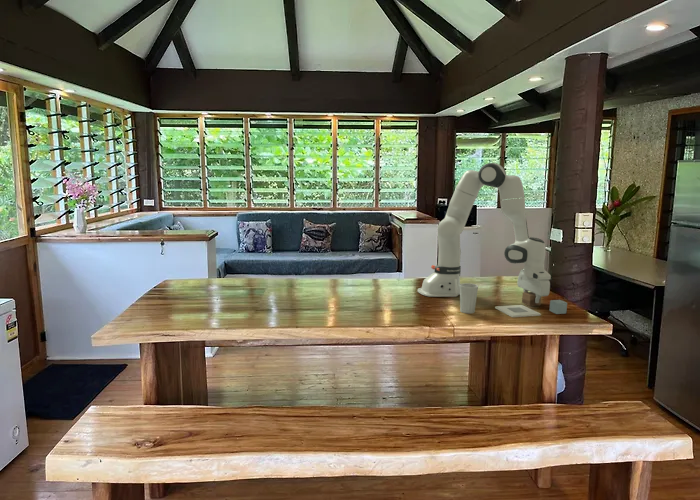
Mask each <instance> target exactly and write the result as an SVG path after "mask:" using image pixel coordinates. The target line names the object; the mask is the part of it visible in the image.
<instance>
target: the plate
mask: <svg viewBox="0 0 700 500" xmlns="http://www.w3.org/2000/svg"><path fill="white" fill-rule="evenodd" d="M494 309H496V310H498V311H499V312H501V313H503V314H505V315H507V316H509V317H511V318H523V317H525V318H526V317H536V316H542V314H541V313H540V312H538V311H536V310H534V309H532V308H530V307H529V306H528V307H527V306H525V305H523V304H515V305H498V306H494Z"/></svg>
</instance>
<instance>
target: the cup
mask: <svg viewBox="0 0 700 500" xmlns="http://www.w3.org/2000/svg"><path fill="white" fill-rule="evenodd" d="M478 290H479V285H478V284H475V283H467V282H465V283H460V294H459V304H460V305H459V307H460V309H459V311H460V312H461V313H464V314H474V313H475V311H476V305H477V295H478Z"/></svg>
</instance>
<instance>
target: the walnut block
mask: <svg viewBox="0 0 700 500" xmlns="http://www.w3.org/2000/svg"><path fill="white" fill-rule="evenodd" d="M535 298H536V294H535V293H533V292H530V291H528V292H524V291H522V298H521V299H522V300H521V303H522V304H524V305H526V306H528V307H535V306H536V307H537V306H541V305H542V304H541V303H542V297H541V298H540V299H539V303H535V302H534V299H535Z"/></svg>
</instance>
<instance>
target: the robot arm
mask: <svg viewBox="0 0 700 500" xmlns="http://www.w3.org/2000/svg"><path fill="white" fill-rule="evenodd" d="M478 170H479V171H477V170H473V169H467V170H465V171H464V172H463V174H462V176H461V177H460V178H459V180H458V182H457V184H456V186H455V189H454V191H453V194H452V197H451V199H450V200H449V204H448V208H447V210H446V214H445V216H444V218H443V219H442V220H441V221H439V222H438V226H437V245H438V259H437V264H436V265H434V264H432V265H431V267H430V268H431V269H432V270H434V271H433V272H432V273H431V274H429V275H428V276H427V277H425V278H424V279H423V280H422V284H421V285H422V286H421V287H419V288H417V293H419V294H421V295H423V296H425V297H430V298H431V297H432V298H433V297H436V298H437V297H443V298H444V297H454V298H455V297H458V296H460V284H461V278H460V276H461V269H462V267H461V253H462V252H461V250H462V249H461V234H462V233H463V232H464V228H465V226H466V224H467V221H468V218H469V216H470V214H471V211H472V208H473V207H474V204H475V201H476V199H477V197H478V194H479V192H480V190H481V189H482V188H483V187H484V186H486V187H490V188H491V187H492V188H496V189H498V191H499V201H500V208H501V213H502V214H503V215H504V216H505V217H506V218H507V219H509V221H511V223H512V226H513V232H514V238H515V240H514V243H511V244H509V245H508V246H507V247H506V248H505V249H504V254H503V255H504V258H505V260H506V261H508V262H509V263H511V264H524V267H523V268H521V269H520V271H519V274H518V276H517V282H516V284H517V287H518V288H520V289H522V292H533V293H535V294H536V298H535V299H534V302H535V303H539V299H540V298H541V299H542V297H548V296H549V295H550V292H551V291H550V290H551V282H550V280H552V278H551V277H552V276H551V274H550V273H549V272H548V271H547V270H546V269H545V259H546V252H547V251H546V243H545V242H546V241H544V240H543V239H541V238H538V237H534V236H533V237H532V236H531V237H530V236H529V229H528V223H527V216H526V215H527V214H526V201H525V198H526V197H525V190H524V186H523V182H522V179H521V178H520V176H517V175H513V174H511V175H507V171H506V169H505V167H503V165H501V164H498V163H496V162H489V163H485V164H483V165H482V166H481V167H480V169H478Z"/></svg>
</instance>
